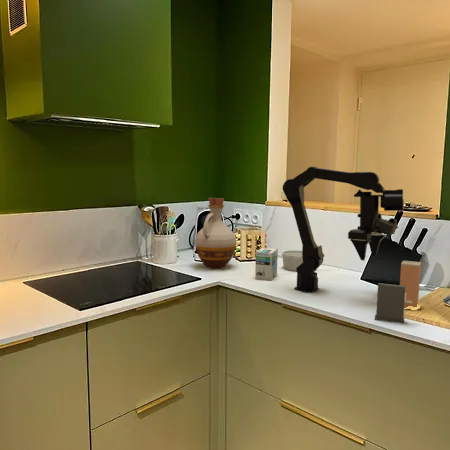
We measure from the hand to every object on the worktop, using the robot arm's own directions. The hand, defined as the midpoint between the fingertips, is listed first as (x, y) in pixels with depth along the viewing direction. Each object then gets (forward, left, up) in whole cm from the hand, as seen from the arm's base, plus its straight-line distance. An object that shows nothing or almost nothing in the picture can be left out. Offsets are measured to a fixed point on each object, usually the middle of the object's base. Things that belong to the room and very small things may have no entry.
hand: (368, 258), depth 137 cm
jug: (-66, -3, -13) cm, 68 cm away
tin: (+14, -1, -13) cm, 19 cm away
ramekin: (-39, +20, -14) cm, 46 cm away
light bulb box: (-40, -1, -14) cm, 42 cm away
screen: (+14, -17, -13) cm, 26 cm away
